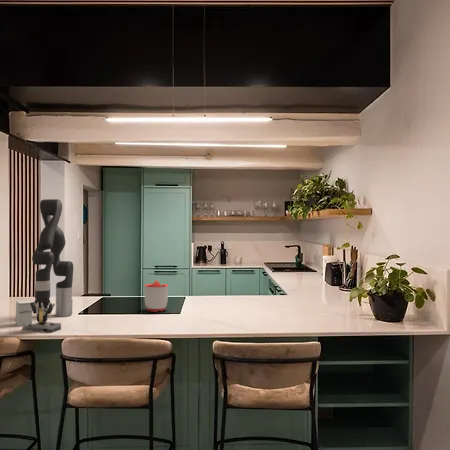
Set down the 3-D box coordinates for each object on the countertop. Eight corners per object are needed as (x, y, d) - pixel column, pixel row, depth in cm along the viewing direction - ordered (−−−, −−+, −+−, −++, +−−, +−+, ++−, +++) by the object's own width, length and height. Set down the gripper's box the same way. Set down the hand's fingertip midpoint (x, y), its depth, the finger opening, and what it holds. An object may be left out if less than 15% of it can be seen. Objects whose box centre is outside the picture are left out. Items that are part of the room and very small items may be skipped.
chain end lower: (31, 326, 227) (32, 322, 227) (52, 328, 224) (52, 324, 224) (22, 329, 220) (22, 325, 220) (43, 331, 217) (43, 327, 217)
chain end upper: (40, 327, 226) (40, 320, 226) (60, 329, 222) (61, 322, 222) (31, 330, 219) (31, 323, 219) (52, 332, 215) (52, 325, 216)
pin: (41, 325, 223) (41, 307, 223) (46, 326, 222) (47, 307, 223) (36, 327, 220) (36, 308, 220) (42, 327, 219) (42, 308, 219)
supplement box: (17, 326, 227) (18, 303, 227) (15, 323, 233) (15, 301, 233) (32, 324, 231) (33, 302, 231) (29, 322, 237) (30, 300, 237)
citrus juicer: (170, 308, 285) (171, 279, 285) (164, 313, 268) (165, 282, 268) (148, 307, 287) (149, 278, 287) (140, 312, 269) (141, 281, 270)
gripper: (58, 288, 223) (58, 321, 223) (36, 287, 227) (35, 319, 227) (49, 290, 216) (48, 324, 216) (26, 289, 219) (25, 322, 219)
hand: (41, 321), depth 221 cm, fingers closed on pin, 3 cm apart
